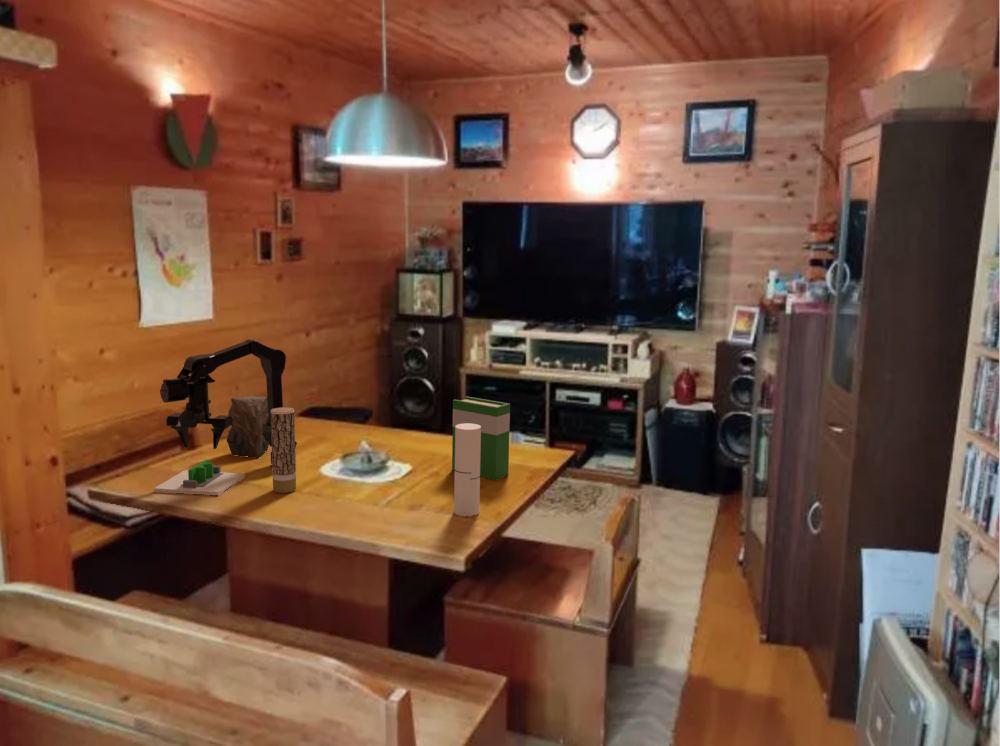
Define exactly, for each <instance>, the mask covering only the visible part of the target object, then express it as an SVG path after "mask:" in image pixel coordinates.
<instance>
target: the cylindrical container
mask: <svg viewBox="0 0 1000 746" xmlns="http://www.w3.org/2000/svg"><path fill="white" fill-rule="evenodd" d="M480 451H481V426H480V425H478V424H471V423H464V424H458V425H456V426H455V471H454V488H453V489H454V490H453V492H454V497H453V500H454V501H453V502H454V503H453V506H454V507H453V513H454V514H455V515H456V516H459V517H466V516H468V517H474V516H473V515H475V516H477V515H479V513H480V500H481V499H480V495H481V493H480V492H481V489H480V487H481V477H480Z"/></svg>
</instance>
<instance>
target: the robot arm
mask: <svg viewBox="0 0 1000 746" xmlns="http://www.w3.org/2000/svg"><path fill="white" fill-rule="evenodd" d="M249 355H253V356H255V357H256V358H258V359H259V360H260V364H261V368H262V371H263V372H264V374H265V377H266V378H265V380H266V395H267V401H268V420H267V422H266V424H262V428H263V434H262V435H263V436H264V438H265V440H266V441H268V442H269V446H270V447H272V440H271V410H272V409H274V408H282V407H284V402H283V401H284V400H283V383H282V381H283V380H282V379H283V378H282V376H283V374H284V370H285V369H286V362H287V356H286V353H285V352H284V351H283V350H282V349H277V348H274V347H269V346H267V345H264V344H262V343H261V342H259V341H257V340H253V339H250V338H249V339H246V340H244V341H242V342H239V343H237V344H234V345H231V346H228V347H226V348H223V349H220V350H218V351H215V352H212V353H203V354H198V355H197V354H196V355H191V356H188V357H187V358H186V359H185V361H184V362H183V363H184V364H183V367H182V369H181V371H180V372H179V373H178V375H177V376H176V378H165V379H162V384H161V387H160V389H159V392H160V393H159V394H160V398H161V401H163V403H164V404H166V403H172V402H173V403H174V402H181V401H185V400H187V399H188V401H187V402H186V405H185V409H184V410H183V411H182V412H181V413H180V412H174V413H173V414H172V413H171V414H169V415H168V416H167V417H166V419H165V426H168V427H170V429H172V430H174V431H176V432H177V434H178V435H179V438H180V439H181V442H182V443H183V446H184V448H188V447H189V429H191V428H192V429H194V428H196V427H197V426H198V424H200V425H201V424H202V425H211V426H212V427H213V428H211V433H212V445H213V446H212V447H213V449H214V450H216V449H217V448H218V446H219V443H220V440H221V437H222V435H223V434H224V431H225V430H226V429H228V428H229V427H231V426H232V424H233V419H232V418H231V416H228V415H222V414H219V415H217V416H215V417H212V412H210V404H211V401H212V400H211V399H209V384H213V383H215V382H216V380H215V379H214V378H212V376H211V375H210V374H212V373H213V372H214V371H216V369H218V368H219V367H220V366H222V365H225V364H229V363H231V362H233V361H236V360H239V359H242V358H244V357H246V356H249ZM297 444H298V442H297V441H296V440H295V449H297ZM269 467H270V468H272V451H271V452H270V466H269Z"/></svg>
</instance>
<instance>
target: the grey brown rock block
mask: <svg viewBox="0 0 1000 746" xmlns="http://www.w3.org/2000/svg"><path fill="white" fill-rule="evenodd" d="M230 401H231V406H230V407H229V409H228V414H227V416H231V418H232V419H233V424H232V425H231V426H230V428H229V430H228V435H227V437H226V443H227V445H228V448H229V451H230V455H231V454H232V455H238V456H237V457H240V456H248V457H256V458H255V459H260V458H262V456H263V455H264V453H265V454H266V452H268V451H267V450H269V446H270V445H269V442H268V441H266V440H265V438H264V436H263V435H262V434H263V428H262V424H266V422H267V420H268V401H267V394H266V395H265V396H264V395H263V396H262V395H256V394H255V395H254V394H252V395H248V396H245V397H244V396H243V397H232V398H230ZM265 451H266V452H265ZM232 455H231V456H232ZM248 457H247V458H248ZM259 457H260V458H259Z"/></svg>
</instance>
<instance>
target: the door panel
mask: <svg viewBox="0 0 1000 746" xmlns="http://www.w3.org/2000/svg"><path fill="white" fill-rule="evenodd" d="M188 470H189V469H185V470H183V471H180V472H179V473H178V474H176V475H174V476H172V477H171V478H169V479H167V480H166V481H164V482H163V483H161V484H159V485H157V486H156V487H154V488H153V492H154V493H159V494H160V493H161V494H176V493H184V494H183V495H193V494H202V495H201V496H210V495H219V496H221V495H222V494H223V492H224V491H225V490H226V489H228V488H229V487H230V486H232V485H233V484H235V483H236V482H238V481H239V480H240V481H242V480H243V479H245V478H246V473H242V472H241V473H240V472H226V471H225V472H224V471H223V472H222V469H221V465H213V477H209V478H206V480H207V481H206V482H198V481H194V480H189V477H188ZM244 477H245V478H244ZM242 478H243V479H242ZM241 479H242V480H241ZM240 481H239V482H240ZM239 482H238V483H239ZM236 484H237V483H236ZM236 484H235V485H236ZM233 486H234V485H233ZM233 486H232V487H233ZM229 489H230V488H229ZM229 489H228V490H229ZM226 491H227V490H226ZM226 491H225V492H226ZM225 492H224V493H225ZM221 493H222V494H221ZM203 494H204V495H203ZM220 494H221V495H220Z"/></svg>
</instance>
